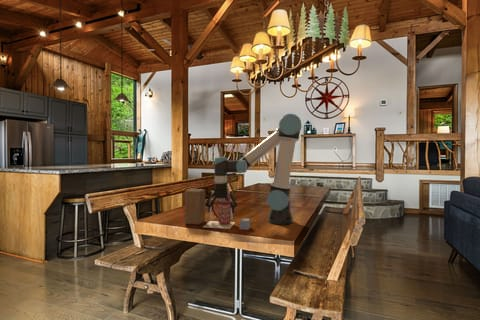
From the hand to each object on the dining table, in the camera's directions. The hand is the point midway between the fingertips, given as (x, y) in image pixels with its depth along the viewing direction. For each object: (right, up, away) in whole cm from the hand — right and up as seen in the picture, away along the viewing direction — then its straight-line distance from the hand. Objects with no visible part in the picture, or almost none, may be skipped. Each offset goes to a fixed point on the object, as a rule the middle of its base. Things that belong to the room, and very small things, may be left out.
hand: (221, 218), depth 167 cm
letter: (-1, -3, -3) cm, 4 cm away
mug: (0, -3, 0) cm, 3 cm away
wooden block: (-16, -3, +2) cm, 17 cm away
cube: (+14, -4, -10) cm, 17 cm away
